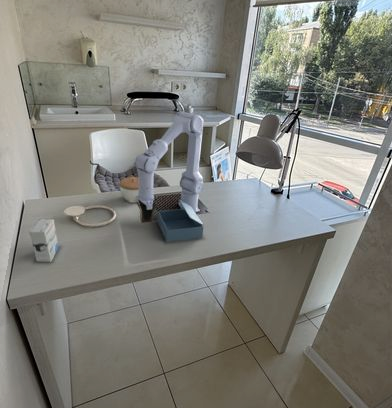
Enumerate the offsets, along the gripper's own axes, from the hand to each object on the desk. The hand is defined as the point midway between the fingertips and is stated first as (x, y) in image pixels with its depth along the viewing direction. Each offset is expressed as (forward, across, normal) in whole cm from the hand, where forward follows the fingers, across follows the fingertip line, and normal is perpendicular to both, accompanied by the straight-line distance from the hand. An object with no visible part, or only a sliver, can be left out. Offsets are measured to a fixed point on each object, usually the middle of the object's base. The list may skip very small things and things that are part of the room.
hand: (146, 217), depth 118 cm
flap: (-3, +4, +17) cm, 18 cm away
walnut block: (+1, 0, 0) cm, 1 cm away
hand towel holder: (+6, -13, -21) cm, 25 cm away
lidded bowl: (+6, -27, -1) cm, 28 cm away
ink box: (+6, +10, -36) cm, 38 cm away
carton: (+5, +4, +13) cm, 15 cm away
